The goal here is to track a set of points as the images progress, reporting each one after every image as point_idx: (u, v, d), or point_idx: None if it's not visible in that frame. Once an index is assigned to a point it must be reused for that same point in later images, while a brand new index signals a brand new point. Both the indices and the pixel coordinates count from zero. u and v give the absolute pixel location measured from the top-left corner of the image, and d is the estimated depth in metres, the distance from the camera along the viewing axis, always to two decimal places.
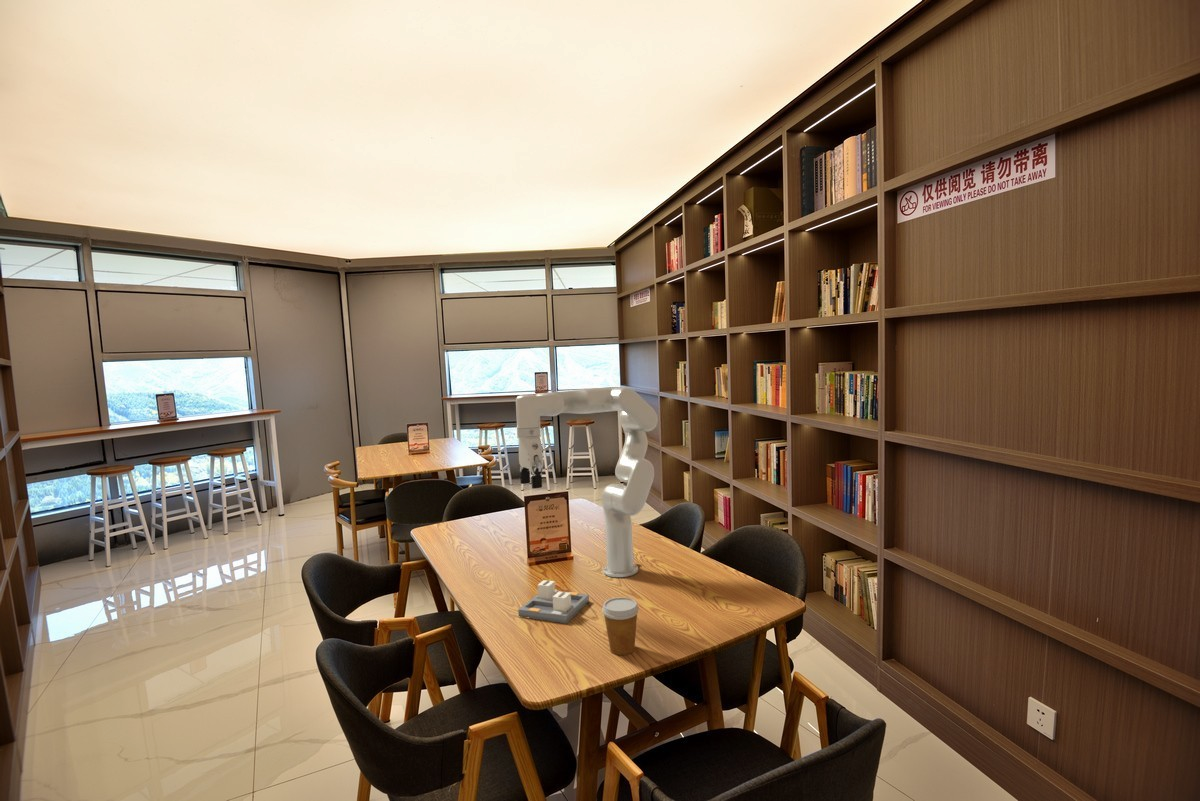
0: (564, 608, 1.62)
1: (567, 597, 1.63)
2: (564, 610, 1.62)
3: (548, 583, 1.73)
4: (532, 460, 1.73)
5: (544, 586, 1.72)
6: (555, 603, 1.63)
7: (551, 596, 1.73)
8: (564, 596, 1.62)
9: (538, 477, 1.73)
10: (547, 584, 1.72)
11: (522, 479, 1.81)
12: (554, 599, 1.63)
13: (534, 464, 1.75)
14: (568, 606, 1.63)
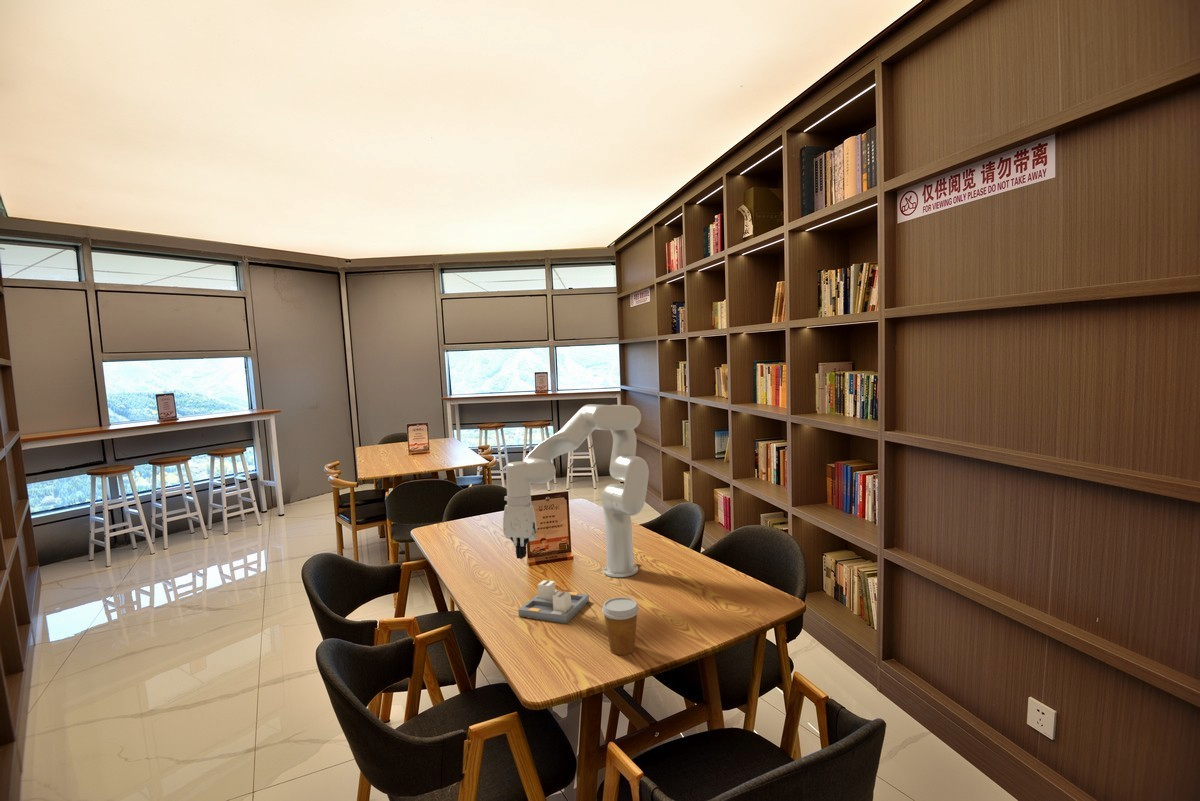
0: (564, 608, 1.62)
1: (567, 597, 1.63)
2: (564, 610, 1.62)
3: (548, 583, 1.73)
4: None
5: (544, 586, 1.72)
6: (555, 603, 1.63)
7: (551, 596, 1.73)
8: (564, 596, 1.62)
9: None
10: (547, 584, 1.72)
11: None
12: (554, 599, 1.63)
13: None
14: (568, 606, 1.63)
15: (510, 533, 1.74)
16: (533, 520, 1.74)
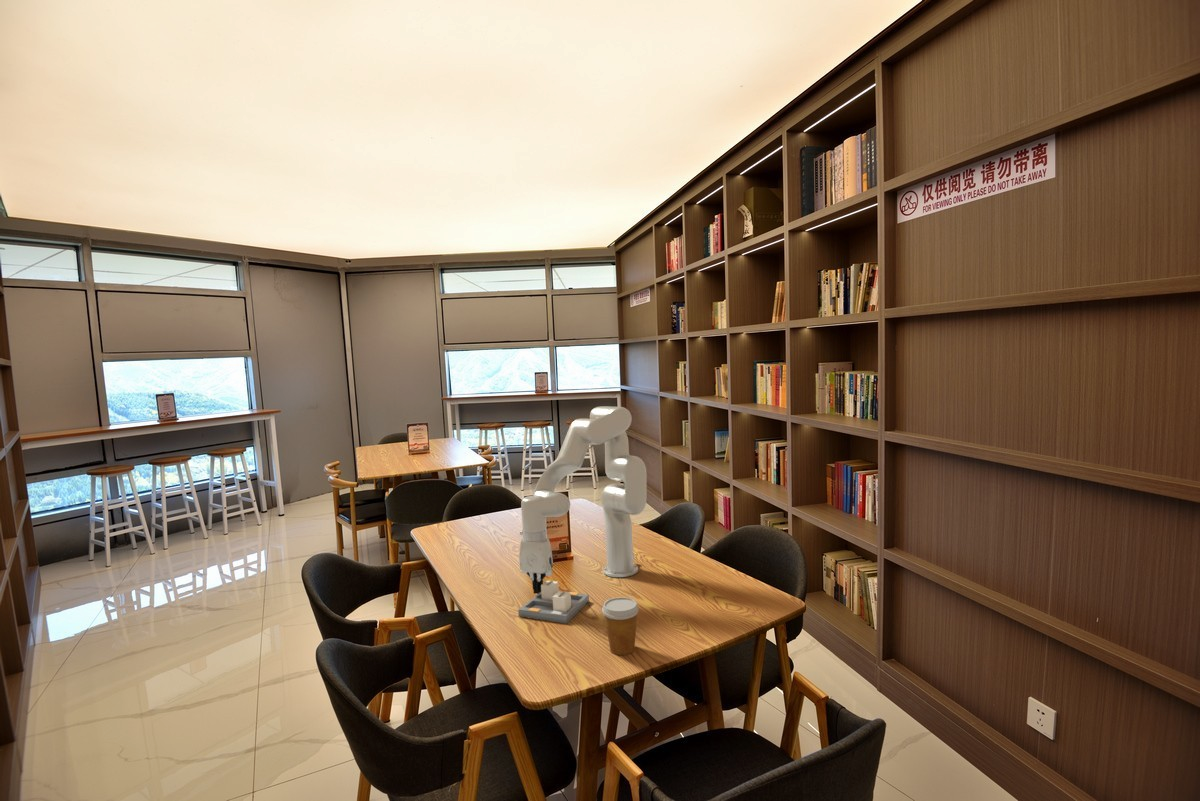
0: (564, 608, 1.62)
1: (567, 597, 1.63)
2: (564, 610, 1.62)
3: (552, 583, 1.73)
4: None
5: (548, 586, 1.71)
6: (555, 603, 1.63)
7: None
8: (564, 596, 1.62)
9: None
10: (551, 584, 1.72)
11: None
12: (554, 599, 1.63)
13: None
14: (568, 606, 1.63)
15: (527, 568, 1.73)
16: (549, 555, 1.73)
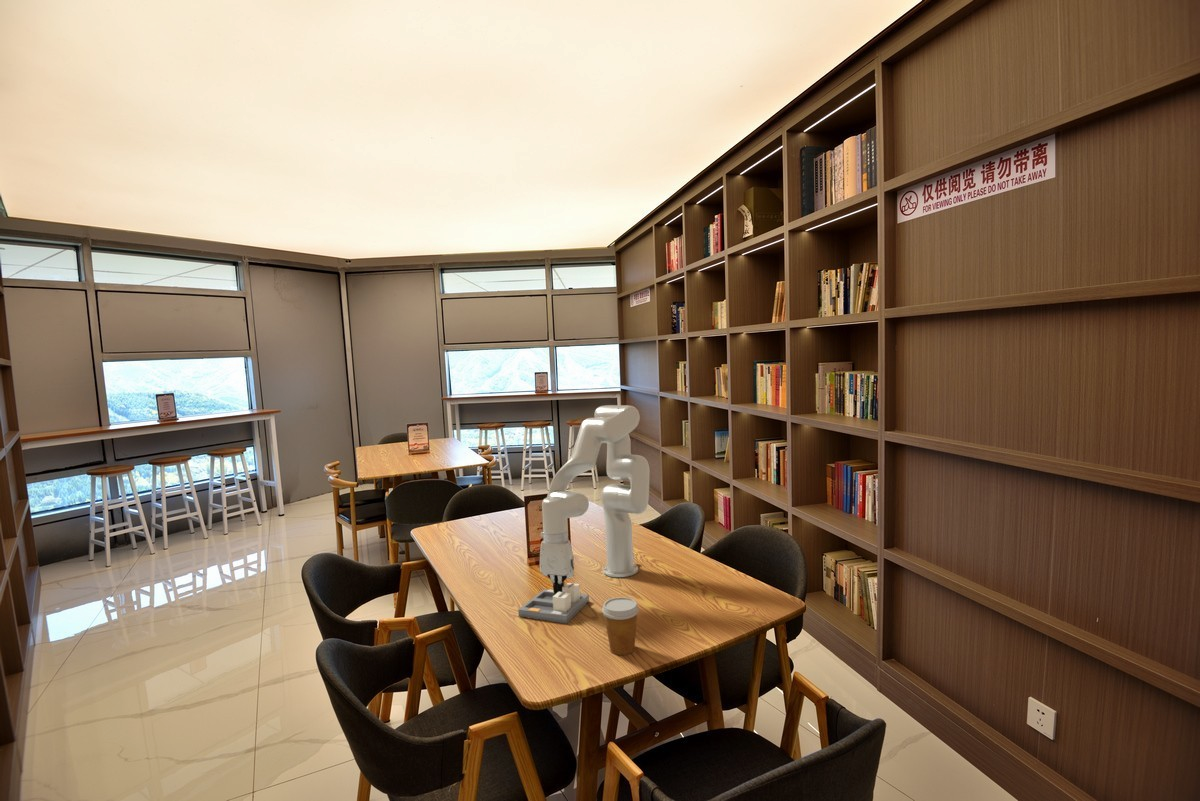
0: (564, 608, 1.62)
1: (567, 597, 1.63)
2: (564, 610, 1.62)
3: (573, 586, 1.70)
4: None
5: (569, 589, 1.68)
6: (555, 603, 1.63)
7: (576, 599, 1.69)
8: (564, 596, 1.62)
9: None
10: (572, 587, 1.69)
11: None
12: (554, 599, 1.63)
13: None
14: (568, 606, 1.63)
15: (547, 570, 1.70)
16: (571, 557, 1.70)
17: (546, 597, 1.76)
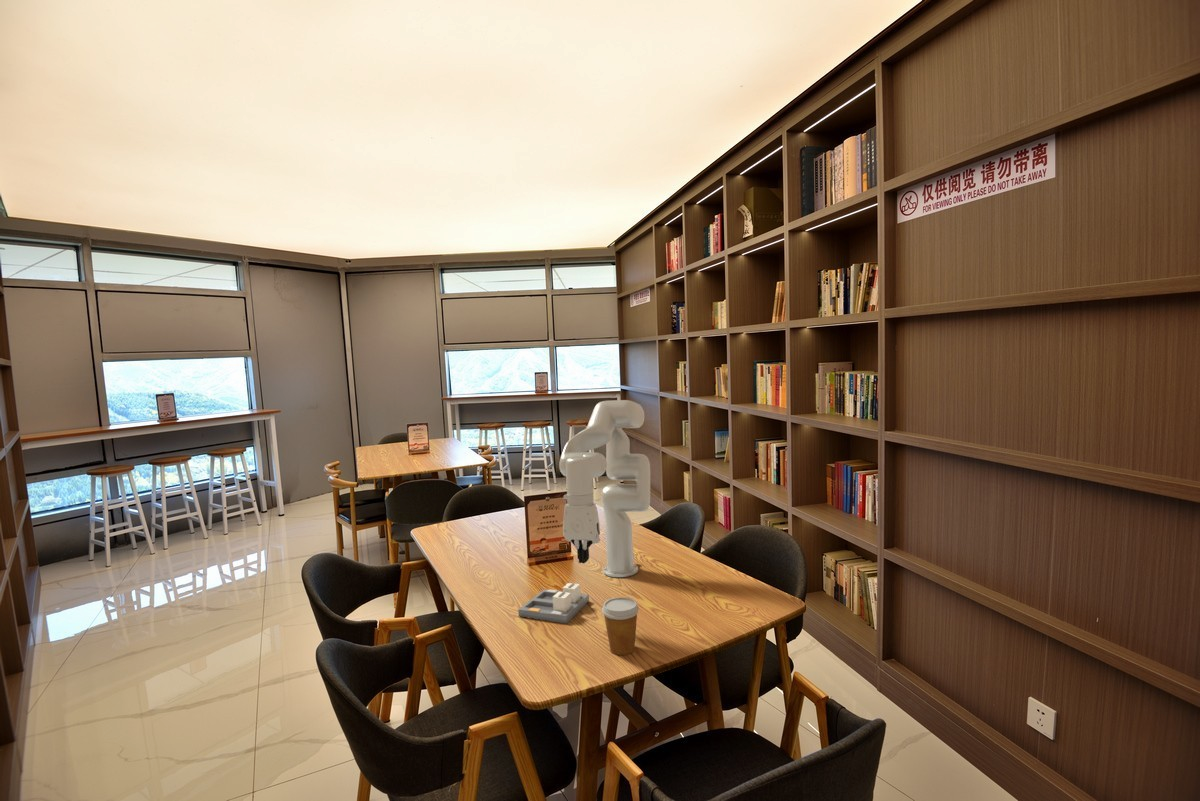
0: (564, 608, 1.62)
1: (567, 597, 1.63)
2: (564, 610, 1.62)
3: (573, 586, 1.70)
4: None
5: (569, 589, 1.68)
6: (555, 603, 1.63)
7: (576, 599, 1.69)
8: (564, 596, 1.62)
9: None
10: (572, 587, 1.69)
11: None
12: (554, 599, 1.63)
13: None
14: (568, 606, 1.63)
15: (572, 535, 1.58)
16: (597, 520, 1.58)
17: (546, 597, 1.76)
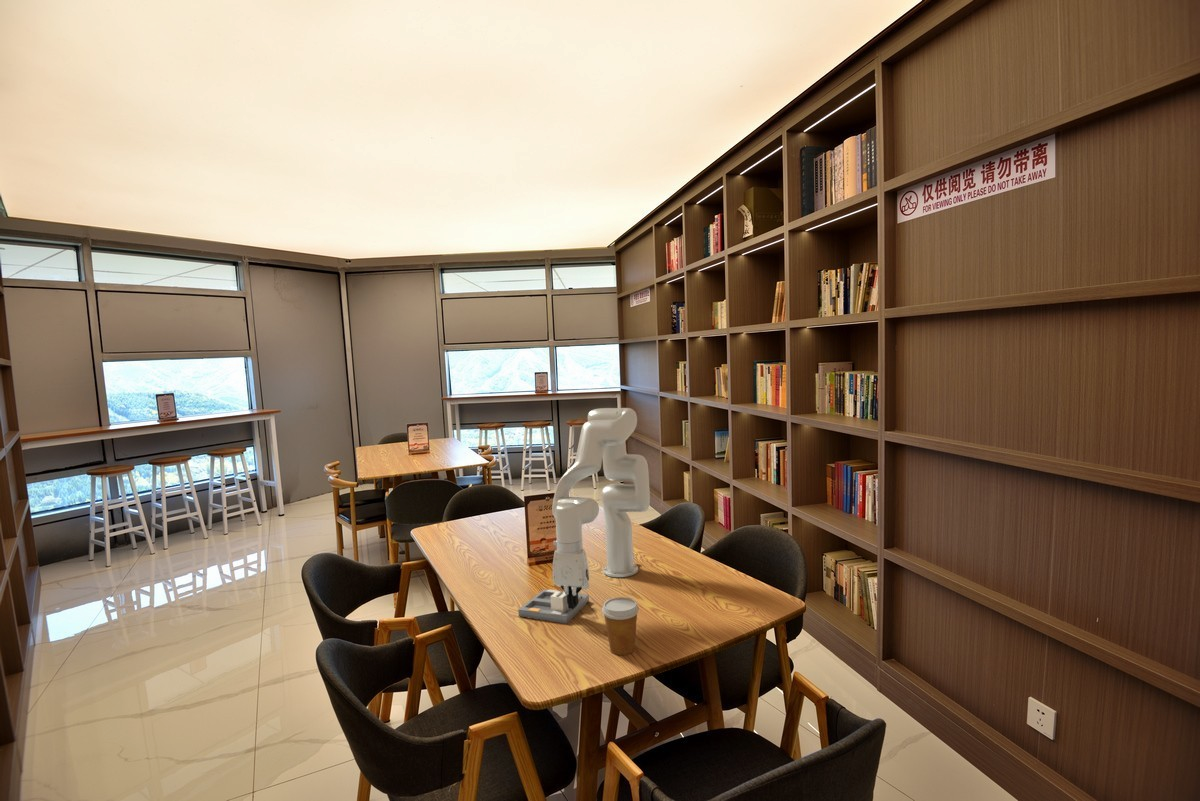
0: (562, 608, 1.62)
1: (565, 597, 1.63)
2: (562, 610, 1.62)
3: None
4: None
5: None
6: (553, 603, 1.63)
7: None
8: (562, 596, 1.63)
9: None
10: (572, 587, 1.69)
11: None
12: (552, 599, 1.63)
13: None
14: (565, 606, 1.63)
15: (561, 581, 1.60)
16: (586, 567, 1.60)
17: (546, 597, 1.76)
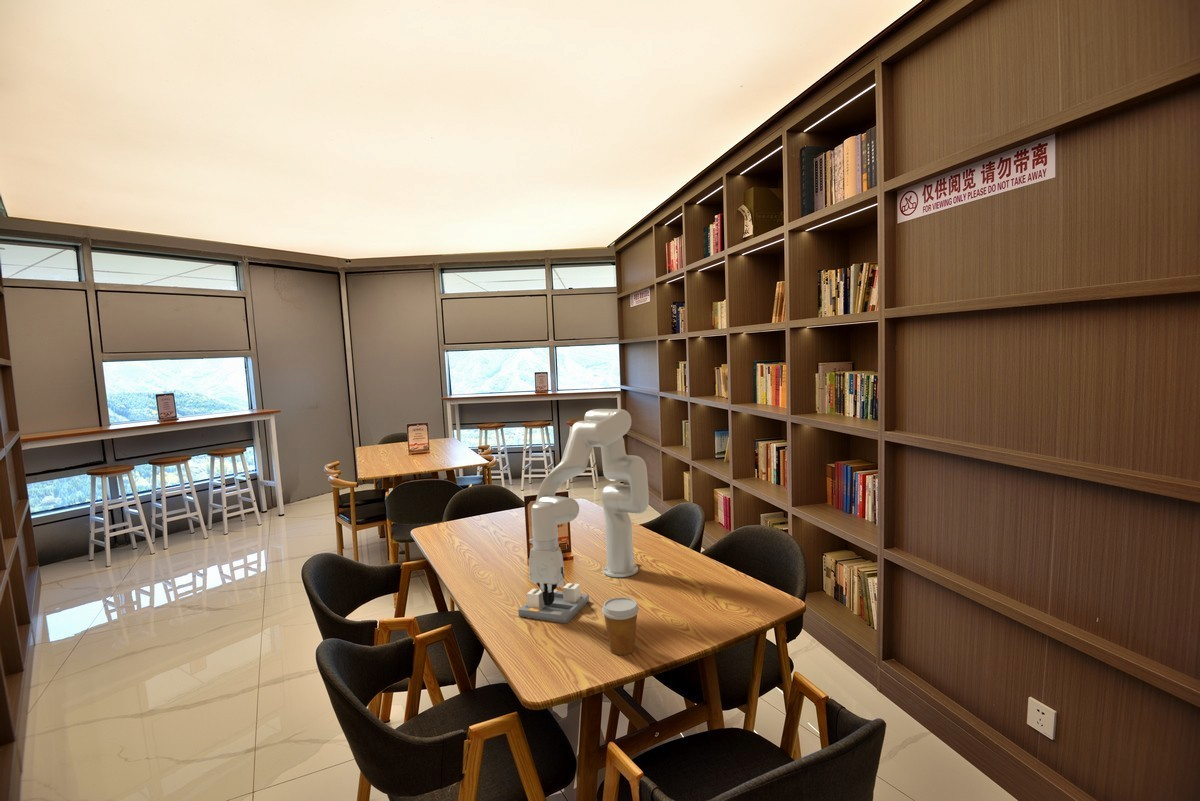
0: (538, 604, 1.65)
1: (541, 594, 1.66)
2: (538, 606, 1.65)
3: (573, 586, 1.70)
4: None
5: (569, 589, 1.68)
6: (529, 600, 1.66)
7: (576, 599, 1.69)
8: (538, 593, 1.66)
9: None
10: (572, 587, 1.69)
11: None
12: (528, 596, 1.66)
13: None
14: (542, 603, 1.67)
15: (537, 578, 1.63)
16: (561, 565, 1.63)
17: None
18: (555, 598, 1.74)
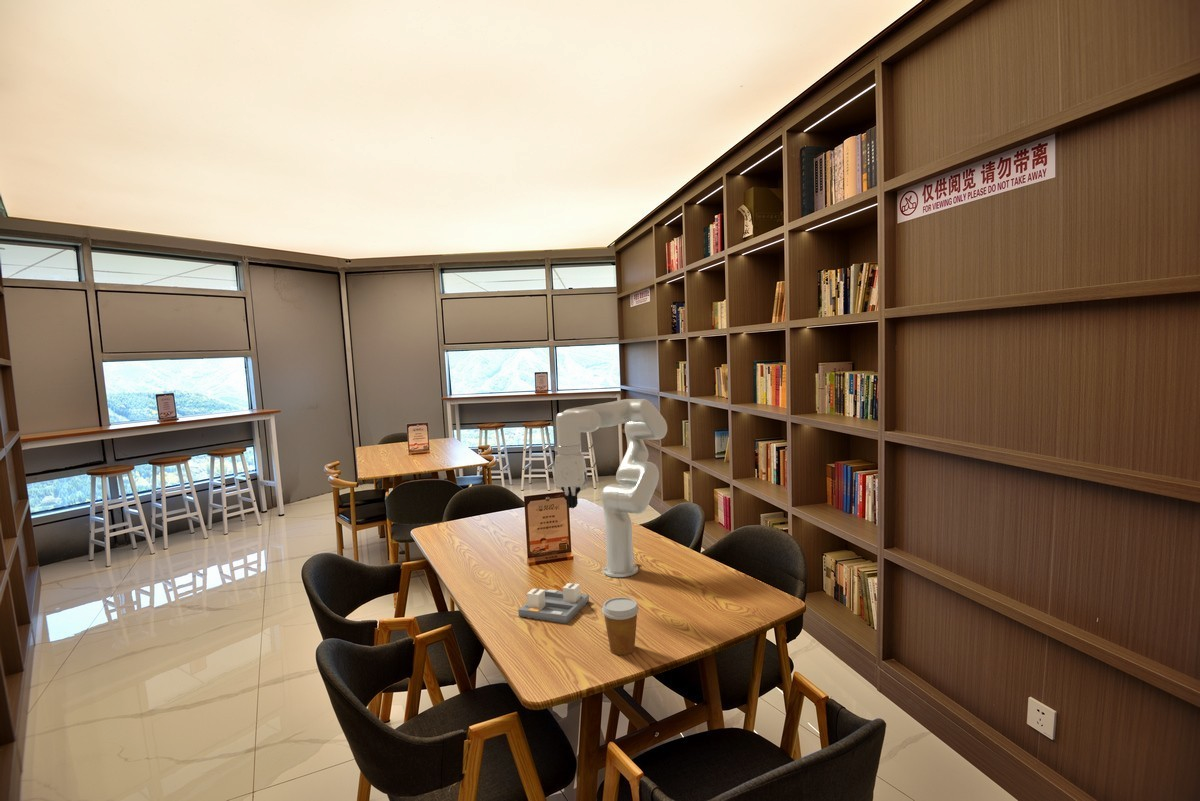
0: (538, 604, 1.65)
1: (541, 594, 1.66)
2: (538, 606, 1.65)
3: (573, 586, 1.70)
4: None
5: (569, 589, 1.68)
6: (529, 600, 1.66)
7: (576, 599, 1.69)
8: (538, 593, 1.66)
9: None
10: (572, 587, 1.69)
11: None
12: (528, 596, 1.66)
13: None
14: (542, 602, 1.67)
15: (562, 482, 1.75)
16: (584, 469, 1.74)
17: (546, 597, 1.76)
18: (555, 598, 1.74)
